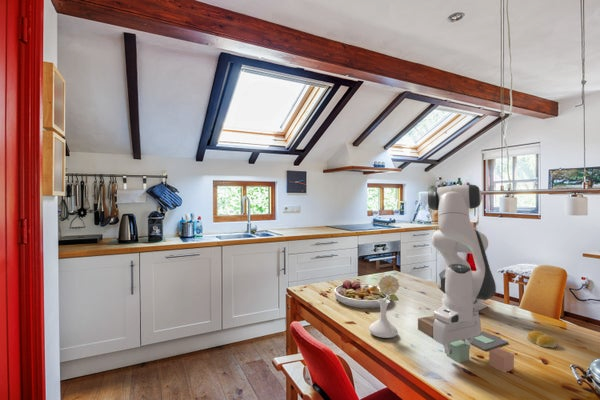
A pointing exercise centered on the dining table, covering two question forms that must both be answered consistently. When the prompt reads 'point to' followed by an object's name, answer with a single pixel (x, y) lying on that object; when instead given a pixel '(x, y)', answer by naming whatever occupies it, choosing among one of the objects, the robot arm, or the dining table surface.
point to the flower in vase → (385, 308)
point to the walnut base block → (426, 325)
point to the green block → (459, 351)
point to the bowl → (359, 294)
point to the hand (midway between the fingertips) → (457, 351)
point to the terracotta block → (501, 359)
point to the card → (487, 341)
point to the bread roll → (541, 339)
